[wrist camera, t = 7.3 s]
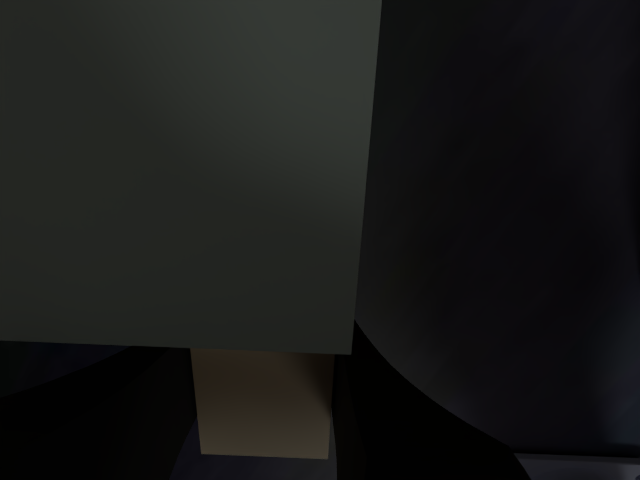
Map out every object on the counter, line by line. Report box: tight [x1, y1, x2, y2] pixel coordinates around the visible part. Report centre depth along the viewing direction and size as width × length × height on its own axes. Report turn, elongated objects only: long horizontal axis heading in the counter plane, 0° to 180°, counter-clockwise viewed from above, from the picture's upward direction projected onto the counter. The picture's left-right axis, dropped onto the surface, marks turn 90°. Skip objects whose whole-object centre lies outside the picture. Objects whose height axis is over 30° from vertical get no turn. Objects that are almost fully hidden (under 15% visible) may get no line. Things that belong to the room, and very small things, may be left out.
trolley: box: [0, 0, 382, 355], centre depth 7 cm, size 10×16×8 cm, turn 88°
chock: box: [190, 348, 335, 459], centre depth 10 cm, size 6×4×4 cm, turn 178°
